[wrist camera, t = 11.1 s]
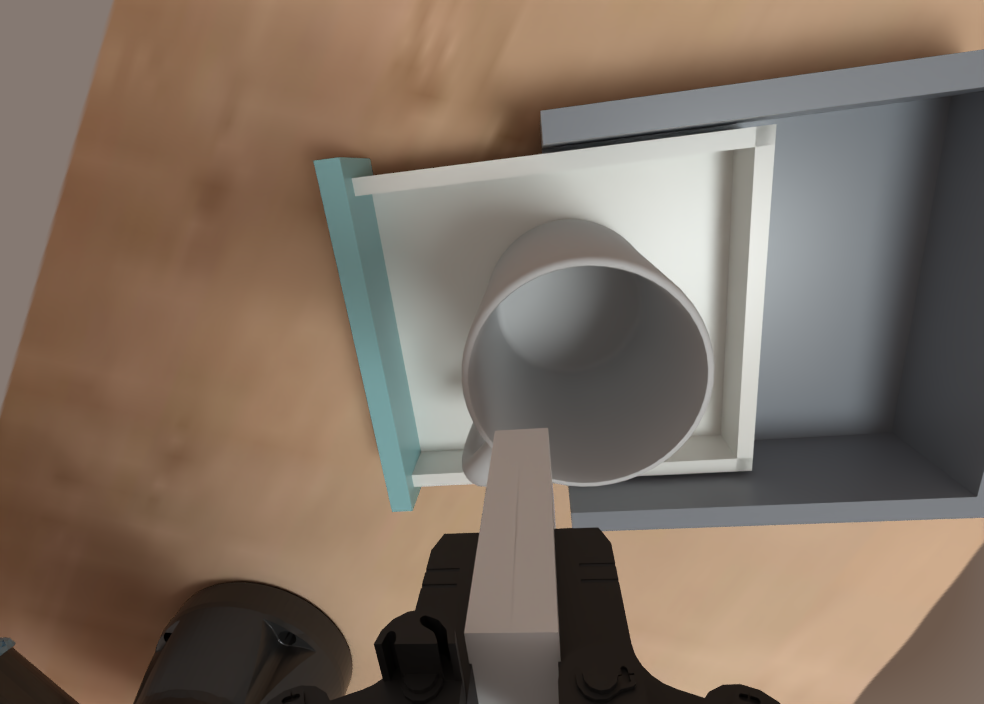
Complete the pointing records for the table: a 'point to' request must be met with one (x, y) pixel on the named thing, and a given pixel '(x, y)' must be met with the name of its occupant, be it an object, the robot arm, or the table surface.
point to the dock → (839, 297)
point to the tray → (495, 226)
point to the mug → (584, 356)
